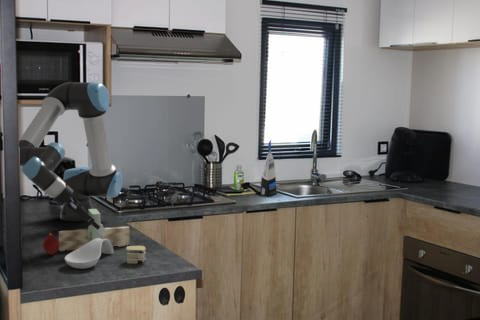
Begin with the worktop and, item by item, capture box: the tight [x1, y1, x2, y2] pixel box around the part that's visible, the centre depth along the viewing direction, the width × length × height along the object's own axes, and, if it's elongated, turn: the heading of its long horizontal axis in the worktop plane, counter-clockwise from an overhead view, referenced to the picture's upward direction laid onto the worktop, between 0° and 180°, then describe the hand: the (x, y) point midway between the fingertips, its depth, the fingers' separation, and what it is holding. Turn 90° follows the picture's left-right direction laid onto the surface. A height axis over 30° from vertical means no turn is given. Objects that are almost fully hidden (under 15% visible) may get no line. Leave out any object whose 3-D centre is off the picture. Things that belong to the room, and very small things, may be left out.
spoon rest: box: [64, 238, 115, 270], centre depth 221 cm, size 24×12×7 cm, turn 164°
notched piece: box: [87, 208, 102, 241], centre depth 239 cm, size 10×3×12 cm, turn 22°
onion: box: [42, 232, 60, 256], centre depth 228 cm, size 6×6×8 cm
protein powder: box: [259, 139, 278, 198], centre depth 362 cm, size 10×24×30 cm, turn 174°
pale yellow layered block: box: [125, 245, 147, 264], centre depth 221 cm, size 10×9×6 cm
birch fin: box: [58, 225, 131, 252], centre depth 240 cm, size 26×2×7 cm, turn 112°
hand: (102, 230), depth 240 cm, fingers closed on notched piece, 10 cm apart
